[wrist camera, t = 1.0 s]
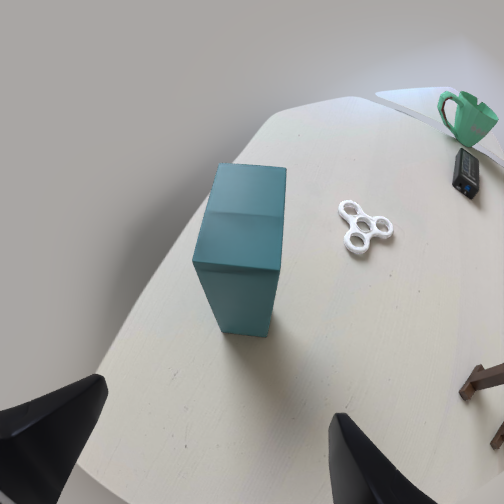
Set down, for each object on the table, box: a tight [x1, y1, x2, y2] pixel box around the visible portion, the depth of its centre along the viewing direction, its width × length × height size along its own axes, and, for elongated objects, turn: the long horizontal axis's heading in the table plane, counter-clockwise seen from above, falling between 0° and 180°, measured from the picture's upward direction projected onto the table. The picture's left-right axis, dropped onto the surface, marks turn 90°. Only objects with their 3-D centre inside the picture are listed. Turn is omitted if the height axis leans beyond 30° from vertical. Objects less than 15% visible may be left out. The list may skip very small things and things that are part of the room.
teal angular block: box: [192, 163, 287, 337], centre depth 20 cm, size 7×4×13 cm, turn 173°
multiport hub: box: [452, 148, 479, 199], centre depth 34 cm, size 4×11×2 cm, turn 143°
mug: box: [437, 91, 498, 147], centre depth 37 cm, size 15×10×10 cm
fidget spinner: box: [338, 200, 393, 254], centre depth 28 cm, size 7×6×1 cm
